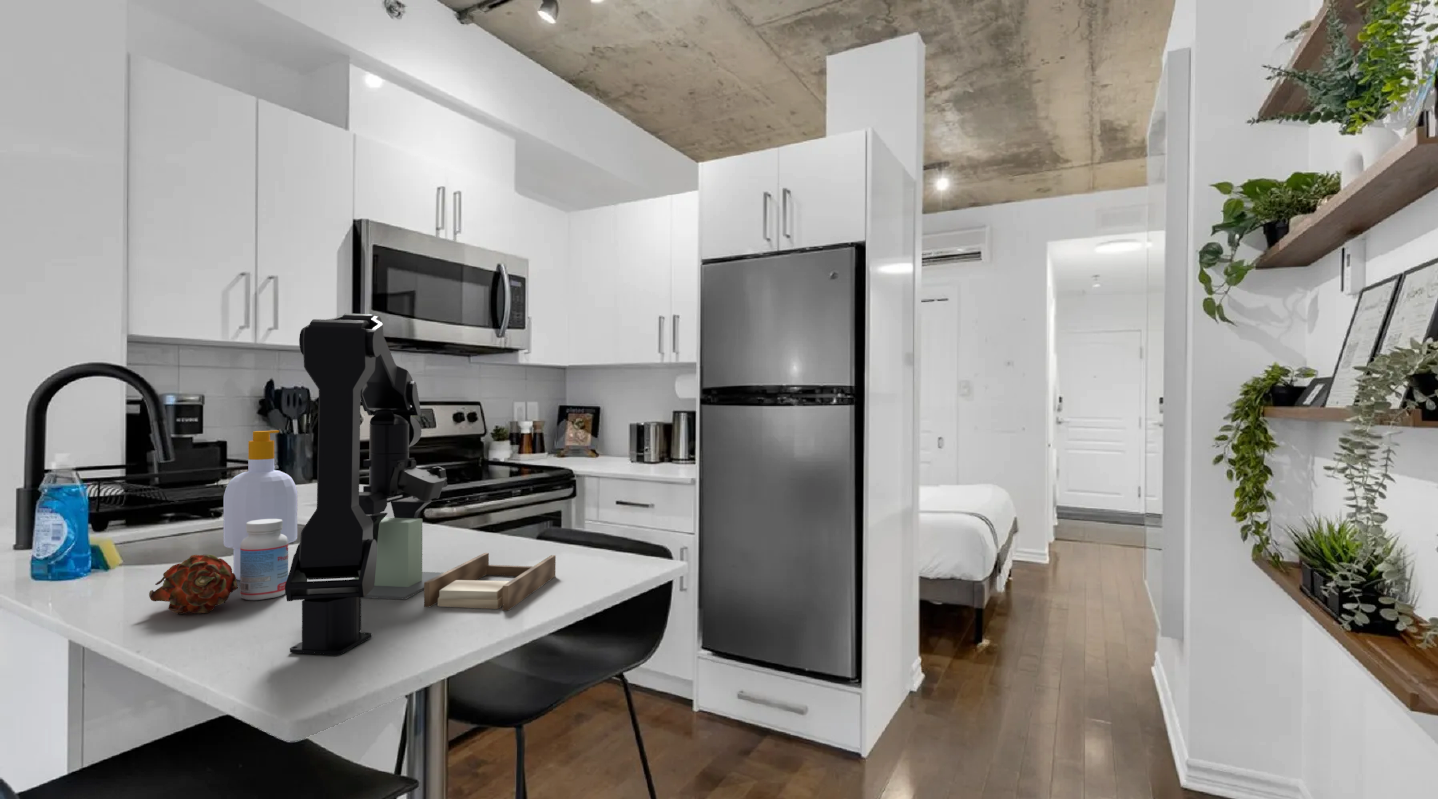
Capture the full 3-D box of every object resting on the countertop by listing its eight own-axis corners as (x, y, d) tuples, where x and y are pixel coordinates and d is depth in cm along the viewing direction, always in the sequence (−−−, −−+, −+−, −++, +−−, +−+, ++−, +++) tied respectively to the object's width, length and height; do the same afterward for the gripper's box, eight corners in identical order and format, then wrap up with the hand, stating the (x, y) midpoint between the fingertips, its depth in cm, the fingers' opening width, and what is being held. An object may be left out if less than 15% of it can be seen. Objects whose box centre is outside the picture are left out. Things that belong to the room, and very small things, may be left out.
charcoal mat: (405, 599, 104) (405, 596, 104) (318, 595, 105) (318, 592, 105) (452, 575, 118) (452, 572, 118) (374, 572, 119) (374, 569, 119)
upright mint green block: (408, 587, 109) (408, 523, 109) (354, 584, 110) (354, 521, 110) (422, 580, 113) (422, 518, 113) (370, 578, 114) (370, 517, 114)
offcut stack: (496, 609, 99) (496, 592, 99) (436, 606, 100) (436, 590, 100) (514, 596, 105) (514, 581, 105) (458, 594, 106) (458, 578, 106)
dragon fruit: (219, 630, 94) (168, 630, 99) (267, 580, 101) (217, 583, 106) (173, 588, 90) (122, 591, 95) (226, 539, 97) (176, 544, 102)
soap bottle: (311, 570, 120) (312, 430, 120) (259, 586, 110) (259, 433, 110) (262, 566, 122) (262, 429, 122) (207, 582, 112) (207, 432, 112)
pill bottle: (289, 597, 104) (289, 522, 104) (240, 603, 101) (240, 526, 101) (287, 587, 109) (287, 516, 109) (240, 593, 106) (240, 520, 106)
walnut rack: (508, 610, 99) (508, 585, 99) (424, 606, 100) (424, 582, 100) (555, 576, 117) (555, 555, 117) (484, 573, 119) (484, 552, 119)
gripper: (403, 458, 101) (403, 566, 101) (465, 449, 120) (465, 539, 120) (332, 457, 102) (332, 563, 102) (404, 448, 121) (404, 538, 121)
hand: (389, 550), depth 111 cm, fingers open, 9 cm apart
